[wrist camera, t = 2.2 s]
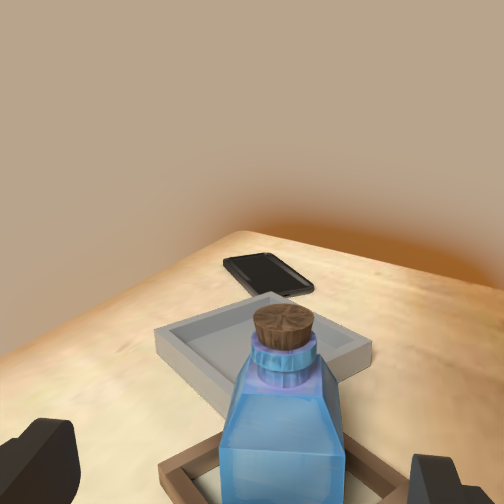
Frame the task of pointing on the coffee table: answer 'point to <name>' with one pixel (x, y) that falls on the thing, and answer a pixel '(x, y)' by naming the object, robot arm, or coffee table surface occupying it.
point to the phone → (267, 275)
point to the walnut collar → (207, 457)
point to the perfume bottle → (283, 418)
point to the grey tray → (245, 347)
